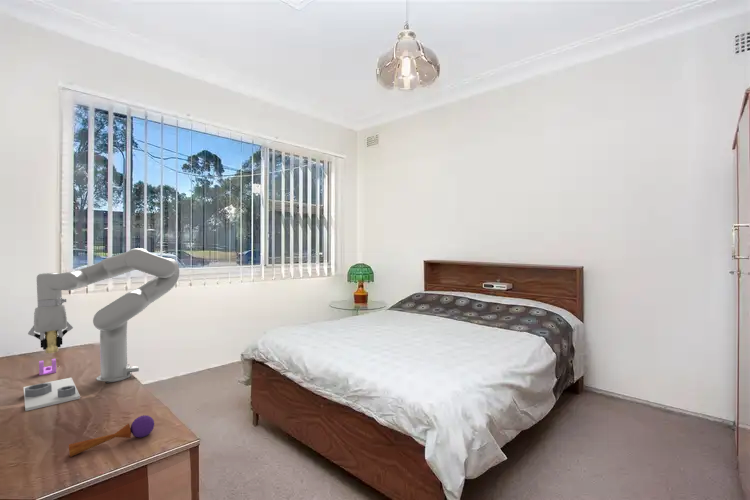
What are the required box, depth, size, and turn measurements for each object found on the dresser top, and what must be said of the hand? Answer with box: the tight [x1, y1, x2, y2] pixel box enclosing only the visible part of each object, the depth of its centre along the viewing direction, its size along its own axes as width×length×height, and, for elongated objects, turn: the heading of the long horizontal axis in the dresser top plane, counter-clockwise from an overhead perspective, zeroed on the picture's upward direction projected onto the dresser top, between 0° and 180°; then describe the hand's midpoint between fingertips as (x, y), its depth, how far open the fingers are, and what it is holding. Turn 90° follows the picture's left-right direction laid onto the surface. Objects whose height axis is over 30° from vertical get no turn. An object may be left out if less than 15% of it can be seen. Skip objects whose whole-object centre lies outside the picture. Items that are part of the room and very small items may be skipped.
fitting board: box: [23, 377, 81, 412], centre depth 146 cm, size 15×28×4 cm, turn 44°
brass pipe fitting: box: [44, 330, 59, 354], centre depth 154 cm, size 4×4×9 cm
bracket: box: [38, 358, 57, 376], centre depth 171 cm, size 13×6×7 cm, turn 40°
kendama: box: [68, 414, 155, 458], centre depth 108 cm, size 6×6×20 cm
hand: (51, 347), depth 154 cm, fingers closed on brass pipe fitting, 4 cm apart
